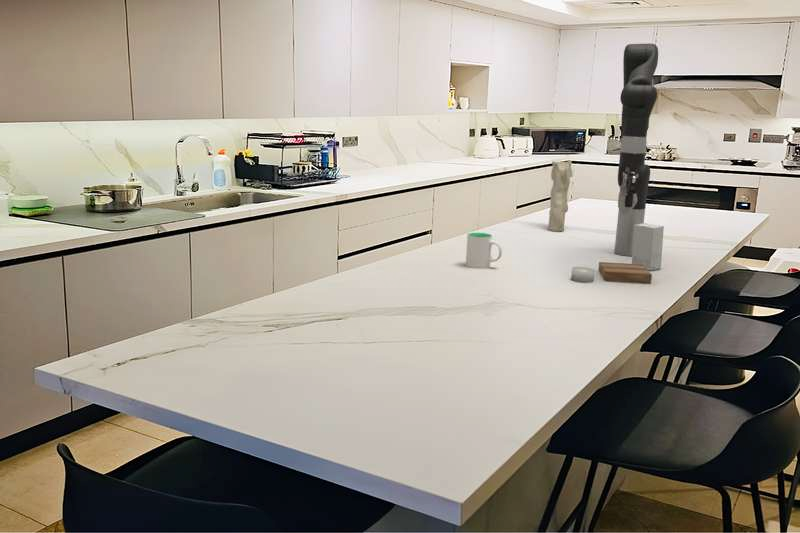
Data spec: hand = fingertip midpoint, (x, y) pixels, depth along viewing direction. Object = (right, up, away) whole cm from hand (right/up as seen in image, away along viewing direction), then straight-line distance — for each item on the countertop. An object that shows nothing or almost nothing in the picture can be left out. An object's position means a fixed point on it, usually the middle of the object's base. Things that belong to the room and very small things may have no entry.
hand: (627, 205), depth 232 cm
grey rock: (0, -3, +1) cm, 3 cm away
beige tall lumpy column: (-5, -4, +83) cm, 83 cm away
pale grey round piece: (-14, -24, 0) cm, 28 cm away
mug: (-44, -19, +13) cm, 50 cm away
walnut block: (0, -23, +5) cm, 23 cm away
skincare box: (+12, -20, +19) cm, 30 cm away
